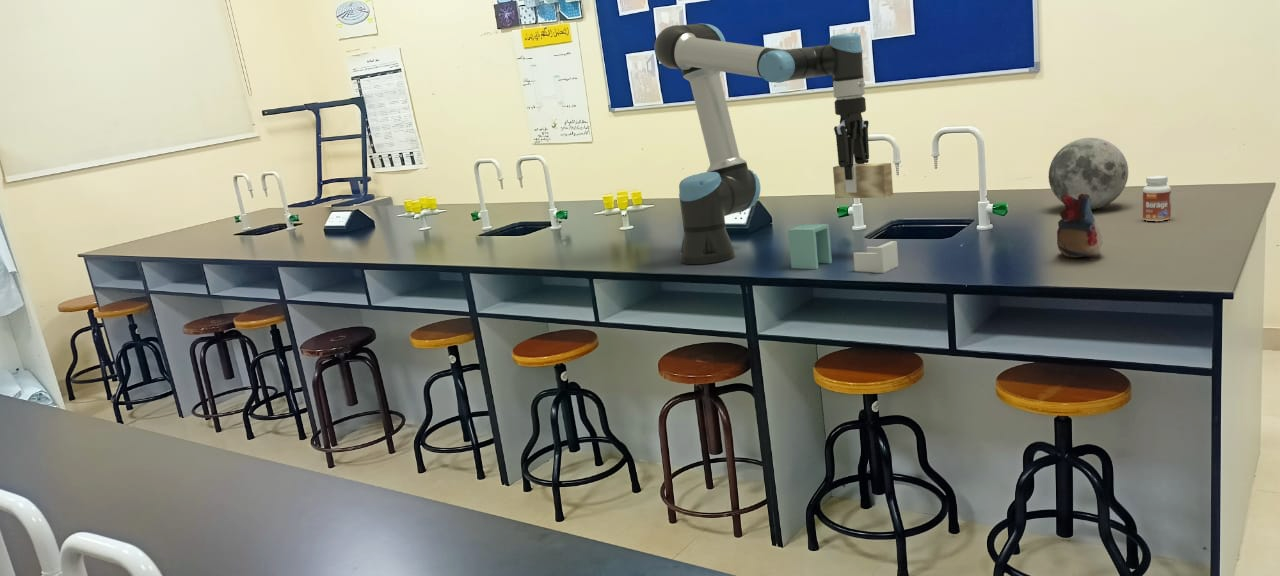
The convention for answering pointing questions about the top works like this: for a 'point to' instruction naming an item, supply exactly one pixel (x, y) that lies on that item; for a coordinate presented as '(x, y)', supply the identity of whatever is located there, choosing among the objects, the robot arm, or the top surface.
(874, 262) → the white stepped block
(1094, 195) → the moon model
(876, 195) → the wooden block
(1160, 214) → the pill bottle
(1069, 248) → the anatomical model
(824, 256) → the cap
